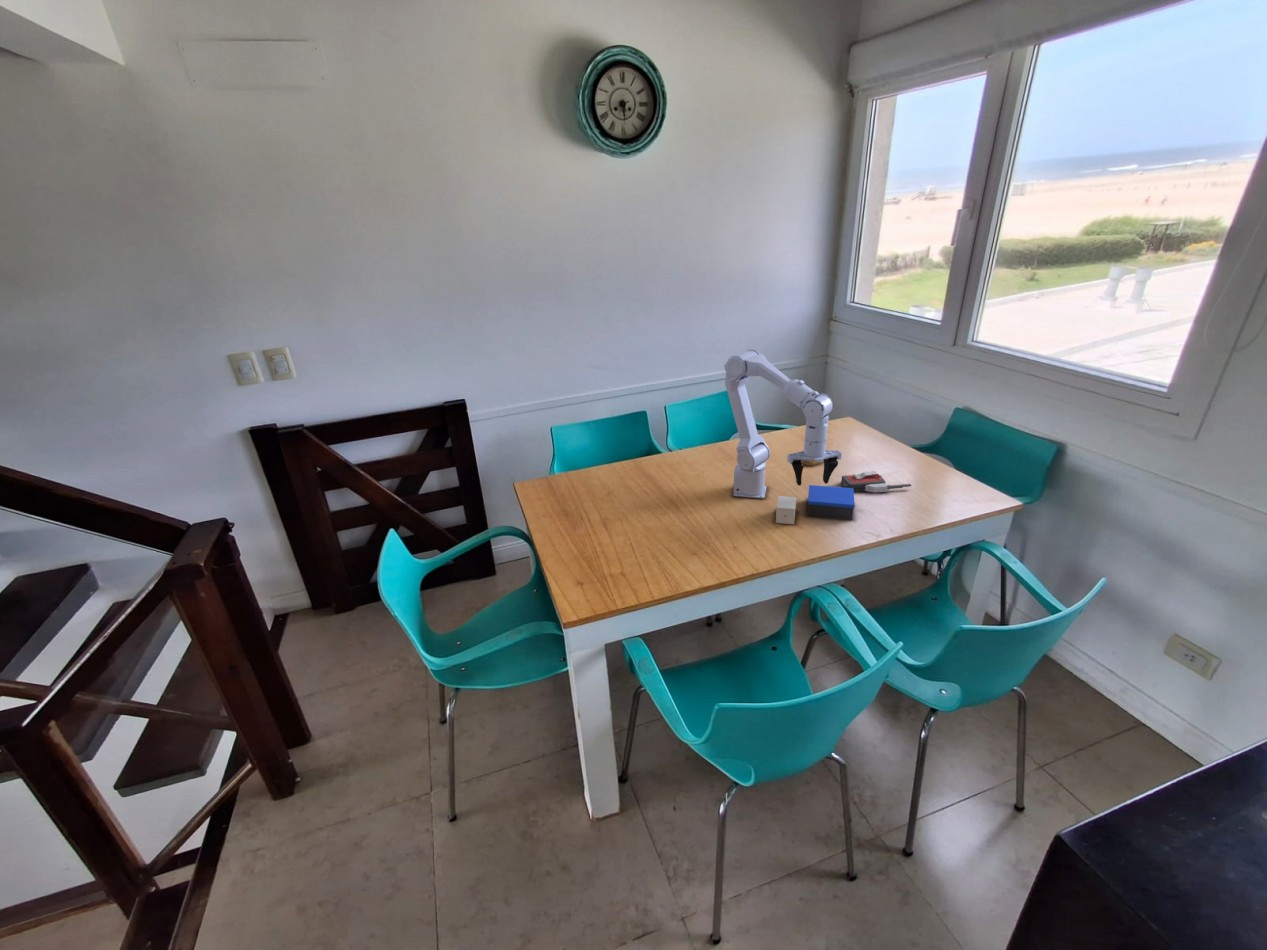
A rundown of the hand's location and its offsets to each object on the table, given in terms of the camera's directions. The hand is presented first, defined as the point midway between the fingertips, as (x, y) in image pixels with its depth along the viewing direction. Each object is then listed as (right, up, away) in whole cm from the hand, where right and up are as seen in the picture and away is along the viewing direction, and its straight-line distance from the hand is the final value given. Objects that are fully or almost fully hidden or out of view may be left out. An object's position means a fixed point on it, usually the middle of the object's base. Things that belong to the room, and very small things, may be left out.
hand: (811, 483), depth 159 cm
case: (-7, -10, +1) cm, 12 cm away
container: (+6, -8, +4) cm, 11 cm away
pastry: (+12, +7, +34) cm, 37 cm away
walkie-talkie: (+24, -2, +14) cm, 28 cm away
